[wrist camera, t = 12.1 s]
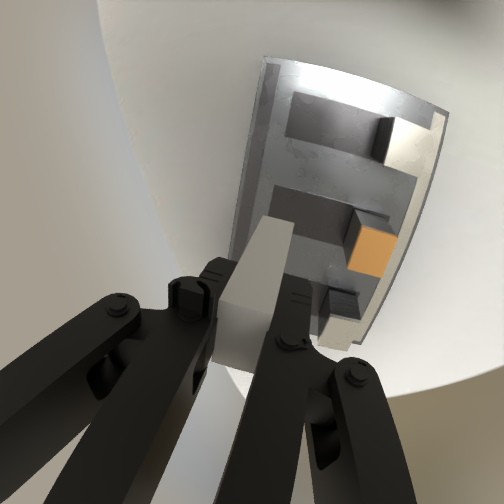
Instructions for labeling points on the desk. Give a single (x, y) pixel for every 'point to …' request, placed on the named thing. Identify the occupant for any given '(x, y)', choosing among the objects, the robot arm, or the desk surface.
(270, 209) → the panel
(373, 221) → the toggle
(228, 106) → the desk surface
